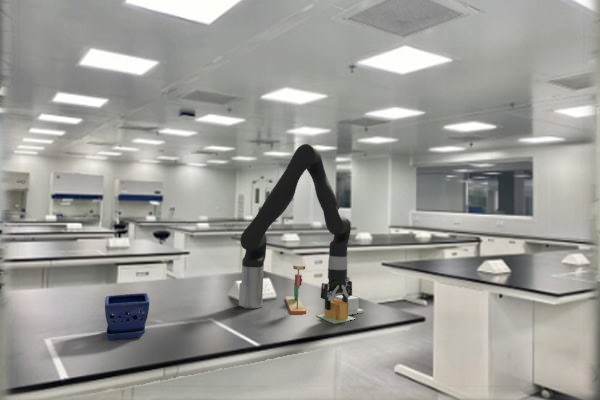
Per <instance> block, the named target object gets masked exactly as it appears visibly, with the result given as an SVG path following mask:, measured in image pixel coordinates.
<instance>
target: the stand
mask: <svg viewBox="0 0 600 400" xmlns="http://www.w3.org/2000/svg"><path fill="white" fill-rule="evenodd" d="M346 280H348V281H351V277H350V276H348V275H347V279H346ZM345 289H346V286H345ZM342 297H343V296H342V294H340V295H334V299H337V300H340V301H342ZM359 298H360V297H357V296H354V295H352V296H349V297H348V316H351V315H352V314H353V315H358V314H363V313H364V311H365V310H364V309H362V308H359V303H360V302H359V301H360V299H359ZM357 313H358V314H357Z"/></svg>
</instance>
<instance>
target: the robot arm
mask: <svg viewBox="0 0 600 400" xmlns="http://www.w3.org/2000/svg"><path fill="white" fill-rule="evenodd" d="M306 170H307V172H308V174H309V176H310V177H311V179H312V182H313V184H314V185H313V186H314V190H315V195H316V198H317V200H318V204H319V205H320V208H321V209H322V212H323V218H324V222H325V226H326V228H327V230H328V232H329V233H330V234H331V235H333V239H332V240H331V241H330V243H329V248H328V249H329V250H328V252H329V253H328V260H327V261H328V262H327V266H328V267H327V279H328V281H327V283H325V282H321V289H320V290H321V291H320V298H321V299H322V300H324V306H325V308H326V310H330V308H331V302H332V301H331V300H332V298H333V297H335V295H338V294H340V295H342V296H343V297H342V301H343V302H346V303H348V297H349V296H353V282H352V281H351V280H350V281H348V280H346V279H347V276H348V243H349V241H350V235H351V230H352V228H351V226H352V225H351V221H350V220H349V218H348V217H345V216H341V215H340V212H339V209H340V204H339V201H338V199H337V197H336V194H335V192H334V190H333V188H332V186H331V184H330V181H329V179H328V176H327V173H326V170H325V167H324V162H323V159H322V155H321V152H320V151H319V150H318V149H317V148H316V147H314V146H312V145H311V144H309V143H304V144H301V145H299V146H298V147H297V148H296V149H295V151H294V154H293V155H292V157H291V159H290V161H289V163H288V165H287V166H286V168H285V171H283V173H282V175H281V176H280V178H279V179H278V180H277V182H276V183H275V185H274V187H273V188H272V189H271V191H270V193H269V194H268V196H267V197H266V199H265V201H264V202H263V204H262V205H261V206H260V209H259V211H258V212H257V213H256V215H255V217H254V218H253V220H252V221H251V222H250V223H249V225H248V226H247V227H246V228H245V229H244V230H243V232H242V233H241V235H240V240H239V242H240V245H241V247H242V248H243V250H245V253H244V257H243V258H242V261H241V281H240V283H239V288H238V289H239V290H238V293H239V294H238V306H239V307H242V308H243V309H246V310H247V309H258V308H262V307H263V297H264V295H263V293H264V271H265V269H264V267H265V265H264V263H265V259H266V255H267V235H266V232H267V231H268V230H269V228H270V226H272V224H273V223H275V222H276V220H277V219H279V218H280V216H282V214H283V213H284V212H285V211H286V210H287V208H288V206H290V204H291V202H292V200H293V199H294V196H295V193H296V191H297V186H298V183H299V181H300V179H301V178H302V176H303V174H304V173H305V171H306ZM345 286H346V289H345Z"/></svg>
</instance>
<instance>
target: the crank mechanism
mask: <svg viewBox="0 0 600 400" xmlns="http://www.w3.org/2000/svg"><path fill="white" fill-rule="evenodd" d="M292 269H293V270H295V271H296V270H297V273H296V274H295V275H294V284H293V285H294V287H293V296H292V295H291V296H289V295H287V296H285V298H284V299H285V303H286V305H287V308H288V309H287V310H288V312H289V314H291V315H306V314H307V309H306V307H305V304H304V303H303V301H302V299H301V297H300V296H299V289H300V287H301V286H302V282H303V278H302V274H301V273H300V270H302V271H304V270H306V265H305V264H300V263H298V264H297V263H296V264H293V268H292Z"/></svg>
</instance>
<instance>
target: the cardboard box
mask: <svg viewBox="0 0 600 400" xmlns="http://www.w3.org/2000/svg"><path fill="white" fill-rule="evenodd" d="M323 311H324V312H323V314H324V316H327V317H329V318H332V319H334V320H337V321H338V320H343V319H348V316H349V315H348V303H346V302H343V301H340V300H337V299H335V298H333V299H332V301H331V308H330V310H326V308H325V305H324V309H323Z"/></svg>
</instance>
